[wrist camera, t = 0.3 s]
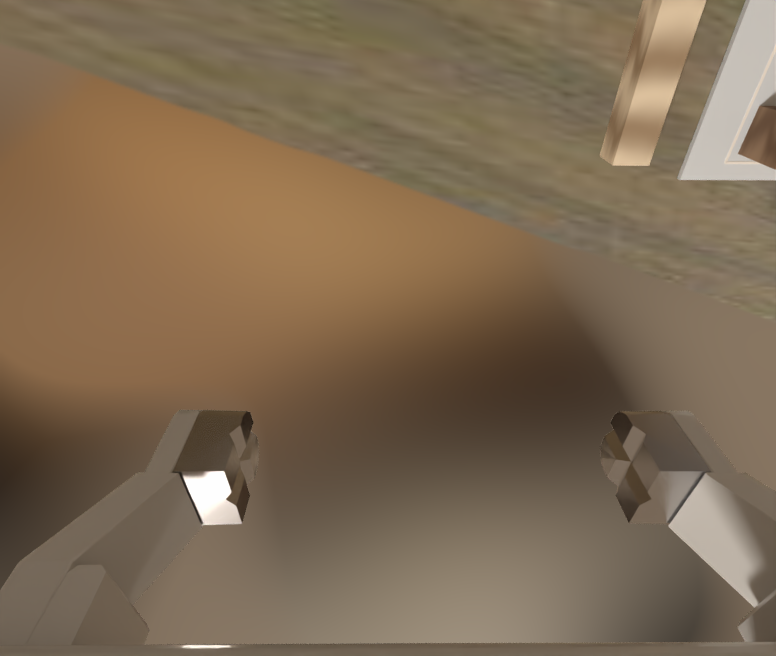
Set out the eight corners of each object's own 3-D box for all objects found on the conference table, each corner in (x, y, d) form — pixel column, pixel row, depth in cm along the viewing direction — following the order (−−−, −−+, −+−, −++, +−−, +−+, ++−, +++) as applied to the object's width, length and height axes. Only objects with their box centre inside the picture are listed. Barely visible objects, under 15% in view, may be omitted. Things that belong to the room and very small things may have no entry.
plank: (662, -74, 40) (686, -81, 37) (706, -73, 40) (734, -80, 37) (598, 155, 52) (612, 165, 49) (632, 155, 52) (648, 165, 49)
